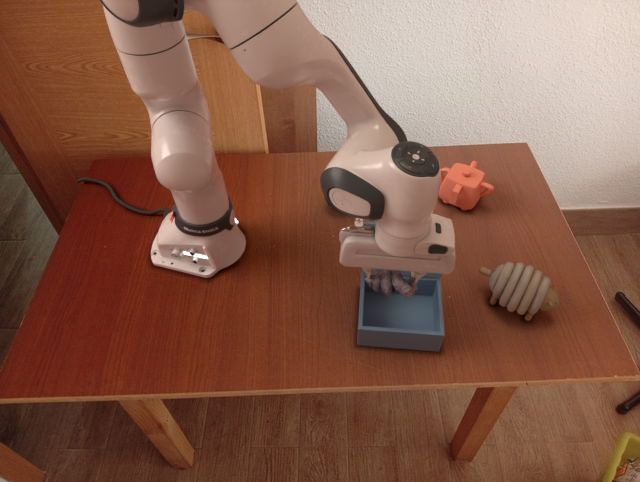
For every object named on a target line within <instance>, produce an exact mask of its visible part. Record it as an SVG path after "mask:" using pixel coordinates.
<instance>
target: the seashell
mask: <svg viewBox="0 0 640 482" xmlns="http://www.w3.org/2000/svg"><path fill="white" fill-rule="evenodd" d="M409 280H410V279H409ZM365 281H366V282H367V283H368V284H369V286H370V287H371V288H372V287H373V289H374V291H376V292H382V293H383V294H384V295H386V296H391V295H393V294H394V293H395V289H396V291H398V292H399V293H401V294H402V295H403V296H404V297H406V298H409V297H411V296H413V295H414V294H415V293H416V292H417V285H416V283H412V282H409V281H408V282H406V281H405V280H404V278H403V276H402V274H401V272H400V271H399V270H391V271H390V270H386V269H381V270H380V271H378V272H375V279H367V277H366V278H365Z"/></svg>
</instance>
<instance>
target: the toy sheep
mask: <svg viewBox="0 0 640 482" xmlns="http://www.w3.org/2000/svg"><path fill="white" fill-rule="evenodd" d="M478 273H479V274H481V275H484V276H485V277H487V278H488V286H489V290H490V291H491V292H492V293H491V294H492V295H491V297H490V300H489V303H490V304H491V305H495V304H496V303H497V301H498V300H499V301H498V304H499V305H500V307H503V308H504V307H506V309H507V311H508V312H509V313H513V312H515V311H516V313H517V314H518V315H520V316H523V315H525V316H524V320H525V321H527V322H529V321H531V320H532V318H533V316H534V315H535V314H537V313H538V311H539V310H541V311H544V312H554V311H557V310H558V309H559V307H560V302H561V301H560V296H559V295H558V293H557V292H556V291H557V290H558V288H557V287H556V286H555V285H554V286H553V287H551V283H552V282H551V281H552V280H551V278H550V277H549V276H546V275H545V276H544V273H543V271H541V270H540V269H535V268H534V266H533V265H532V264H528V265H525V264H524V263H523V262H521V261H519V262H517V263H516V264H515V263H514V262H513V261H507V262H505V263H501V264H499V265H498V266H496V267H494V269H492V270H491V269H489V268H487V267H484V266H480V267H479V269H478Z"/></svg>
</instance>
